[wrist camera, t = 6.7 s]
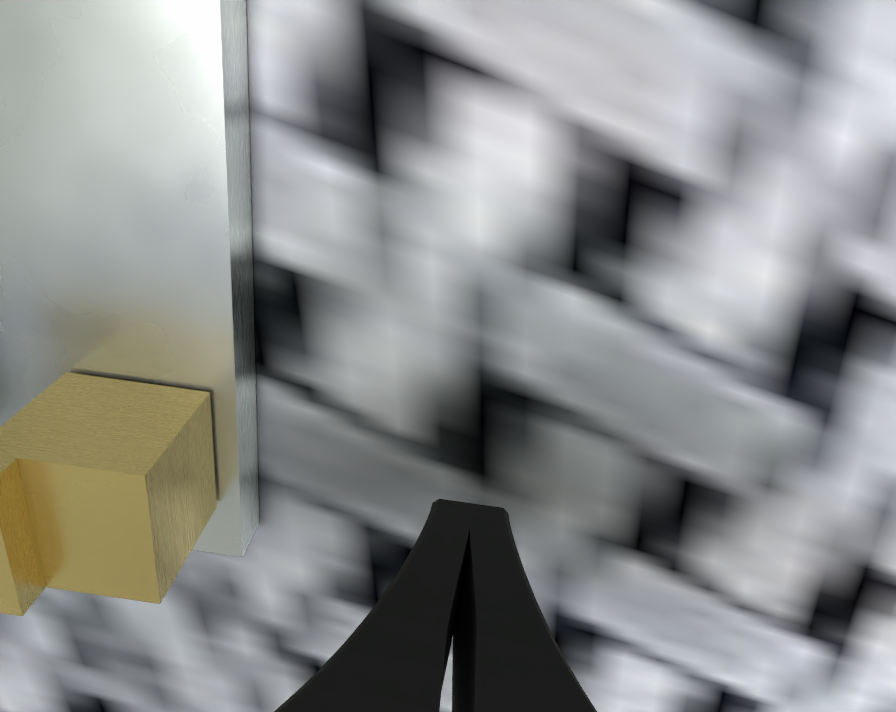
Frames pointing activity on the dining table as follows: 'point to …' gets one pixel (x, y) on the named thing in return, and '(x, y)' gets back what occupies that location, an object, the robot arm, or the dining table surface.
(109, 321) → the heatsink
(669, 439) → the dining table surface
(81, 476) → the block
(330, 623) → the dining table surface
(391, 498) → the dining table surface
